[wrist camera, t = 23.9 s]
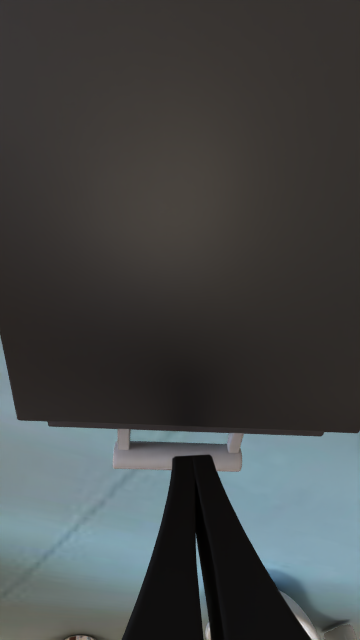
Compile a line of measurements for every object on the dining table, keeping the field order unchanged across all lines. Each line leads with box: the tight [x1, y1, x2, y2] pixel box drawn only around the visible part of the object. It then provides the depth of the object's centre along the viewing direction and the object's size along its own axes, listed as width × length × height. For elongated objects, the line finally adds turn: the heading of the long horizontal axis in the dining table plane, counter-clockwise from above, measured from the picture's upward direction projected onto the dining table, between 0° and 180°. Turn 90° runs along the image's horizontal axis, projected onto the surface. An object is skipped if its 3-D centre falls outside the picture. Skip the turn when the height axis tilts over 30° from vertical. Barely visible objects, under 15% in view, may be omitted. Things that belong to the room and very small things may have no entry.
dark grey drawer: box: [48, 421, 324, 472], centre depth 13 cm, size 19×11×7 cm, turn 174°
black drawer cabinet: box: [0, 0, 360, 433], centre depth 11 cm, size 15×13×9 cm
